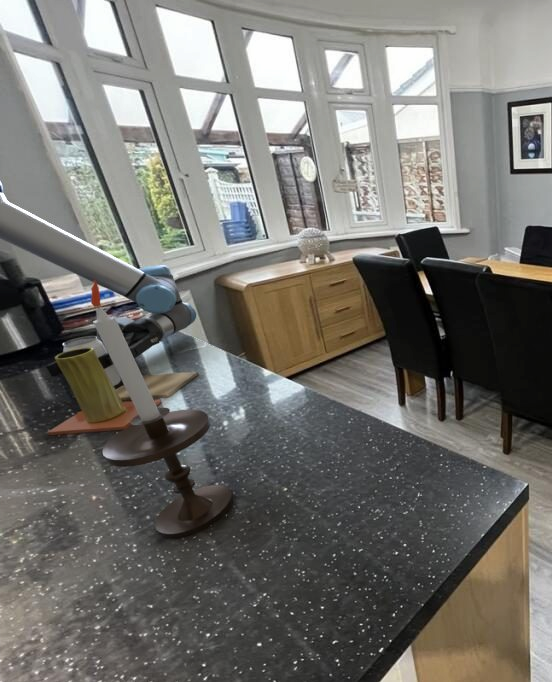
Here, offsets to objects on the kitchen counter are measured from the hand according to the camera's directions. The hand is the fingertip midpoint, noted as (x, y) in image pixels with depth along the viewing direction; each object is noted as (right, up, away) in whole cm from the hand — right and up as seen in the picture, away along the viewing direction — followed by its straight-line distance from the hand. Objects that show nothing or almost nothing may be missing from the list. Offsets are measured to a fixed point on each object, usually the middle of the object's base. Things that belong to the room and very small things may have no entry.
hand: (71, 369), depth 87 cm
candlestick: (+52, -19, -29) cm, 62 cm away
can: (0, -5, +7) cm, 9 cm away
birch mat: (+13, -5, +6) cm, 15 cm away
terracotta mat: (+14, -10, -6) cm, 18 cm away
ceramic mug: (-21, +5, +31) cm, 38 cm away
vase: (+14, -9, -6) cm, 18 cm away
